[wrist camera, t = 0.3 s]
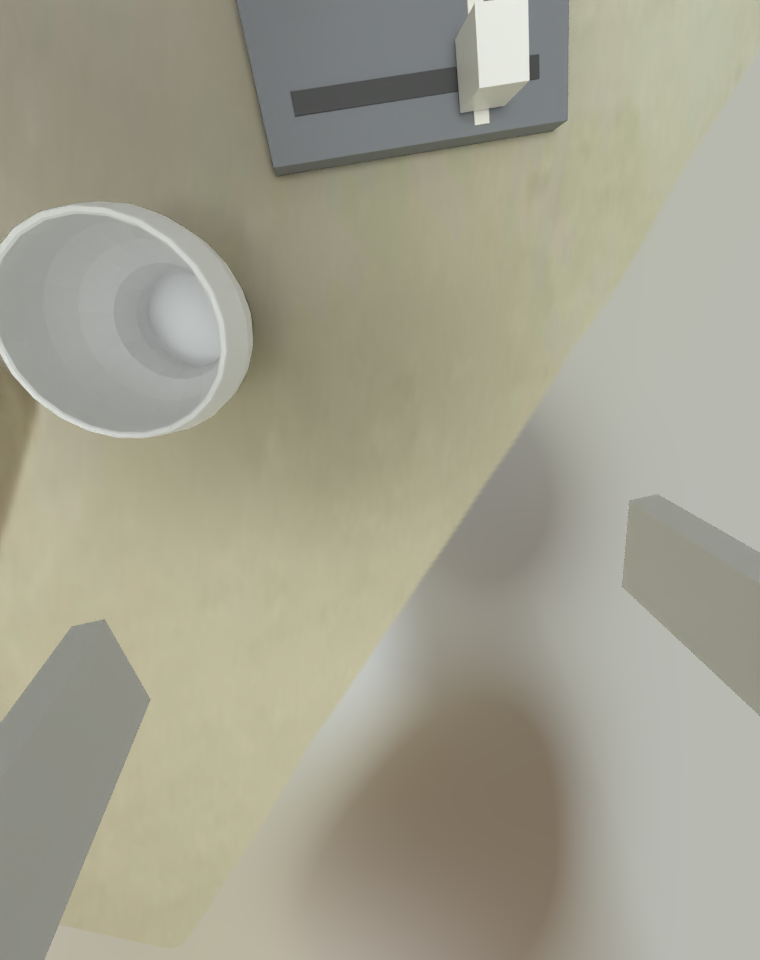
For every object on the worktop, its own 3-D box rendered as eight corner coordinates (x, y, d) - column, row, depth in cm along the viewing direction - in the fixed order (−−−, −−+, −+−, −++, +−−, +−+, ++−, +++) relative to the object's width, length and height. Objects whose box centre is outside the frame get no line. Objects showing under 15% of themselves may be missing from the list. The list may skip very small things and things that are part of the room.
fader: (455, 39, 26) (474, 2, 23) (502, 32, 26) (528, -5, 23) (460, 113, 27) (479, 88, 24) (504, 105, 28) (529, 80, 24)
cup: (200, 205, 29) (100, 120, 16) (299, 336, 33) (289, 361, 20) (88, 300, 30) (-97, 300, 17) (197, 416, 35) (120, 491, 21)
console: (209, -124, 24) (200, -163, 22) (552, -165, 25) (572, -204, 23) (276, 176, 29) (273, 167, 27) (552, 131, 30) (568, 119, 28)
